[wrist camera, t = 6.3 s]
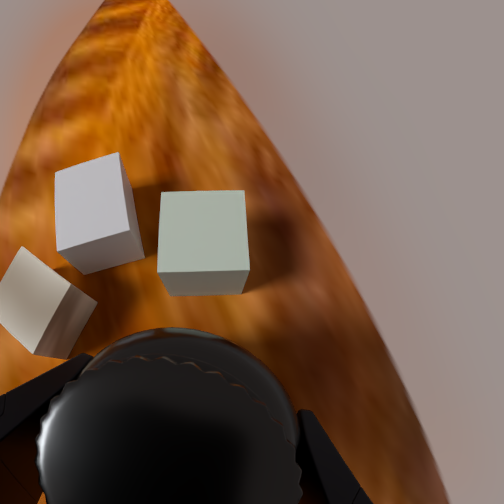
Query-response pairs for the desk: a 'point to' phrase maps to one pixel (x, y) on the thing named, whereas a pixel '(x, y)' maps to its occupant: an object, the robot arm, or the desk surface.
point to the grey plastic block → (96, 215)
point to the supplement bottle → (171, 427)
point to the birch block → (42, 307)
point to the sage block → (203, 243)
